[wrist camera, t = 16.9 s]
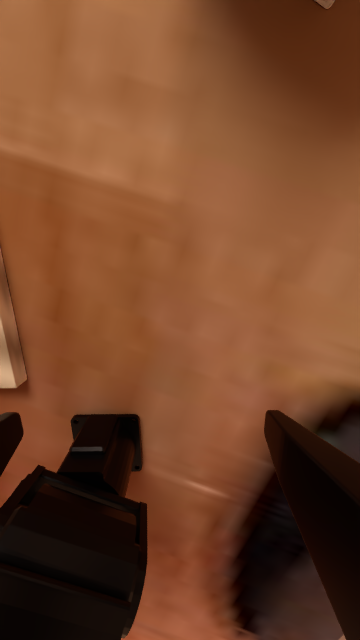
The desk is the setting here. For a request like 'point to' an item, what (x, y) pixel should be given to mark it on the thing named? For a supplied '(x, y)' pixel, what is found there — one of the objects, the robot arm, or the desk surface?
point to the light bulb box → (325, 3)
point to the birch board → (9, 339)
